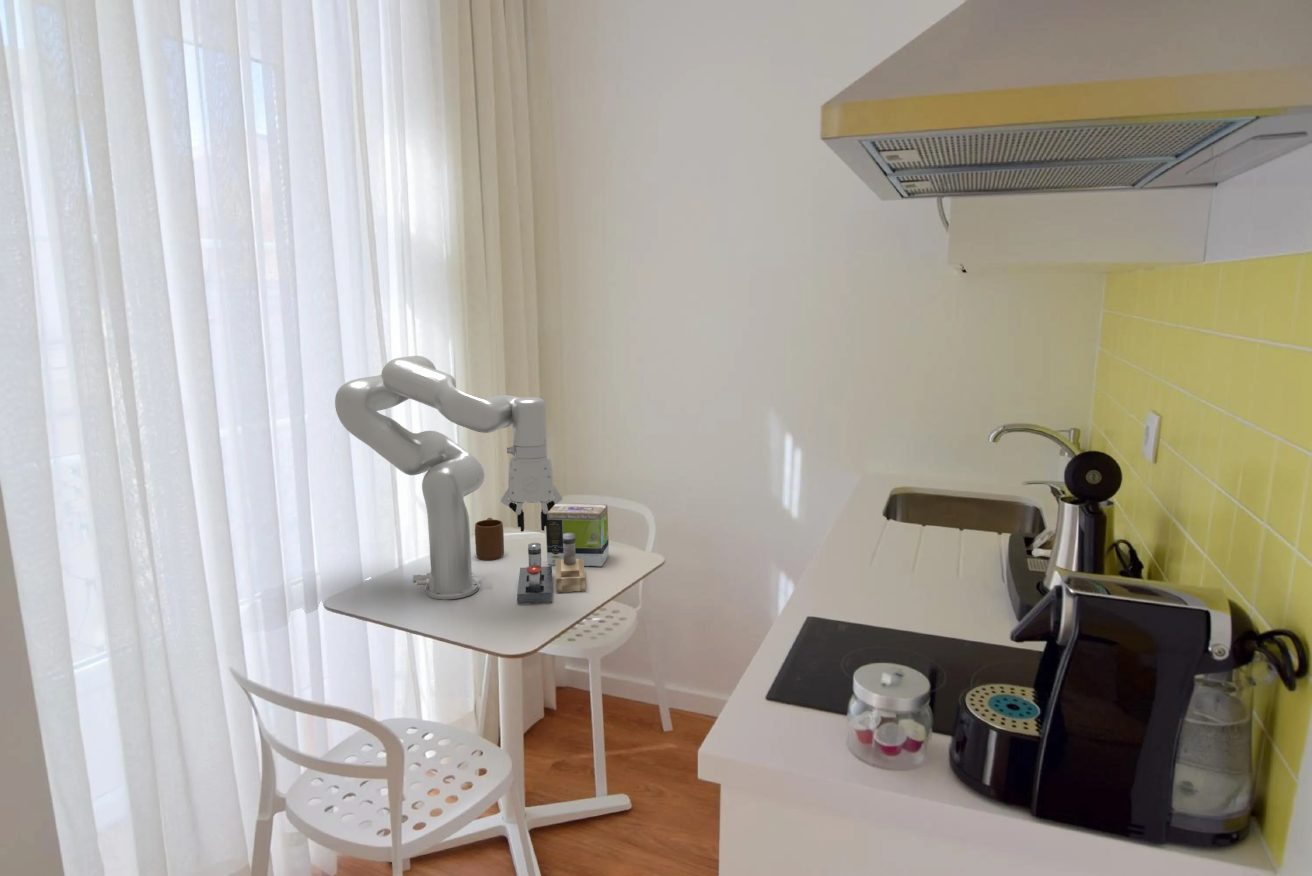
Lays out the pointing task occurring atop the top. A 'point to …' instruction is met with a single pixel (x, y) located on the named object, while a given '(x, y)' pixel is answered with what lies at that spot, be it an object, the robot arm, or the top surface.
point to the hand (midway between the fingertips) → (532, 528)
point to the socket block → (535, 596)
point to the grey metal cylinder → (535, 555)
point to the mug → (489, 539)
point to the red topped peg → (534, 577)
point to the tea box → (578, 532)
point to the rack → (570, 568)
